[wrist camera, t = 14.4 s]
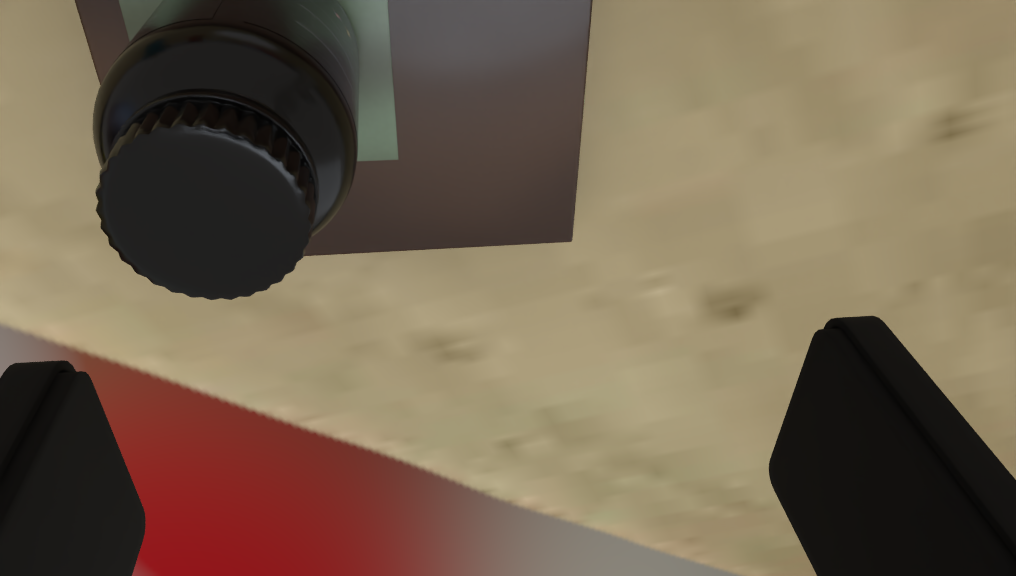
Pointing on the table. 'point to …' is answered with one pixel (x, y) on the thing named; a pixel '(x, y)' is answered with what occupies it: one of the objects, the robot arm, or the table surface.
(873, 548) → the robot arm
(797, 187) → the table surface
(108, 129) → the supplement bottle
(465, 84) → the walnut board
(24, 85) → the table surface
